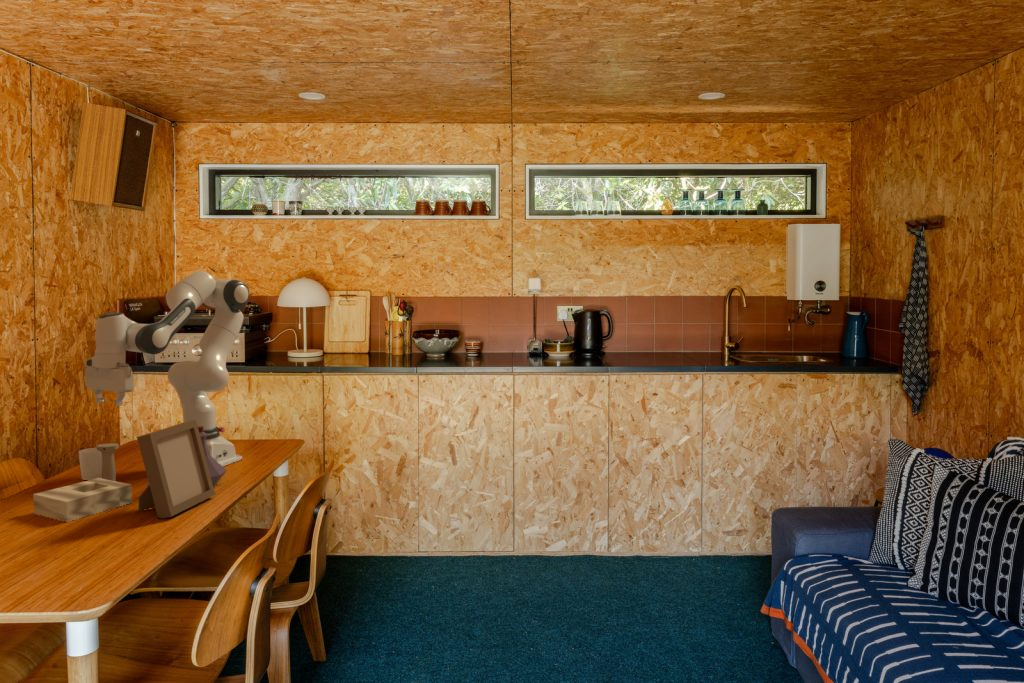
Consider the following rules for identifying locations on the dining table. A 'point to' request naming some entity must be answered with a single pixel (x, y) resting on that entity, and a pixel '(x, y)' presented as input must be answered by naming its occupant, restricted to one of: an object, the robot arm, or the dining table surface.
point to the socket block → (82, 499)
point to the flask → (211, 460)
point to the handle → (108, 460)
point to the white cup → (90, 463)
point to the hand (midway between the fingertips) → (109, 404)
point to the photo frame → (174, 469)
